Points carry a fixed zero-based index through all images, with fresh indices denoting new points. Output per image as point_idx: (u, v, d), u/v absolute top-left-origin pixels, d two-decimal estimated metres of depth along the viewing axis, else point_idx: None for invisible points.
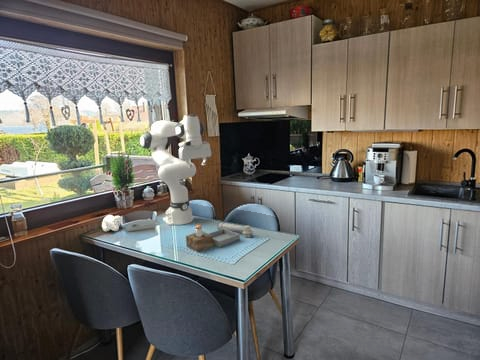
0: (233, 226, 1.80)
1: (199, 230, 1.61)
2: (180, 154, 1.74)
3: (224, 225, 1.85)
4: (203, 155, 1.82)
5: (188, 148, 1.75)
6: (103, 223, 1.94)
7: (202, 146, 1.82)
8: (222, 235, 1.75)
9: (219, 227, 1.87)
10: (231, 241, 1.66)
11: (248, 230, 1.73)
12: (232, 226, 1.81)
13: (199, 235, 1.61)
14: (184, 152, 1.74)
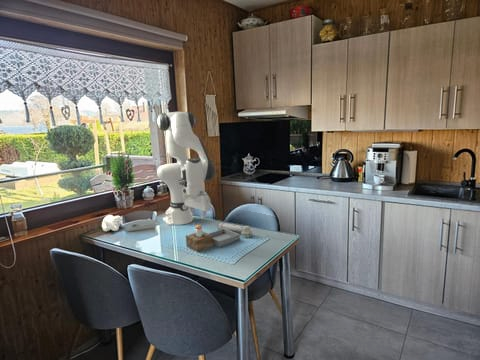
0: (232, 226, 1.80)
1: (199, 230, 1.61)
2: None
3: (224, 225, 1.85)
4: (198, 207, 1.55)
5: (186, 195, 1.61)
6: (103, 223, 1.94)
7: (198, 197, 1.54)
8: (222, 235, 1.75)
9: (219, 227, 1.88)
10: (231, 241, 1.66)
11: (247, 230, 1.73)
12: (232, 226, 1.81)
13: (199, 235, 1.61)
14: (184, 198, 1.64)
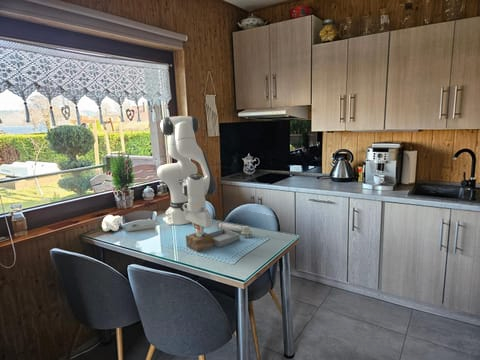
0: (232, 226, 1.80)
1: None
2: None
3: (224, 225, 1.85)
4: (199, 223, 1.57)
5: (187, 210, 1.63)
6: (103, 223, 1.94)
7: (199, 213, 1.56)
8: (222, 235, 1.75)
9: (219, 227, 1.88)
10: (231, 241, 1.66)
11: (247, 230, 1.73)
12: (231, 226, 1.81)
13: (199, 235, 1.61)
14: (185, 213, 1.66)
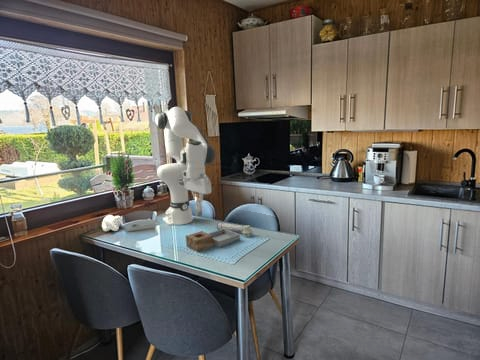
0: (233, 226, 1.81)
1: None
2: None
3: (224, 225, 1.85)
4: (199, 190, 1.54)
5: (187, 178, 1.60)
6: (103, 223, 1.94)
7: (198, 180, 1.53)
8: (222, 235, 1.75)
9: (219, 227, 1.87)
10: (231, 241, 1.66)
11: (248, 230, 1.74)
12: (232, 226, 1.81)
13: (198, 203, 1.58)
14: (185, 181, 1.63)
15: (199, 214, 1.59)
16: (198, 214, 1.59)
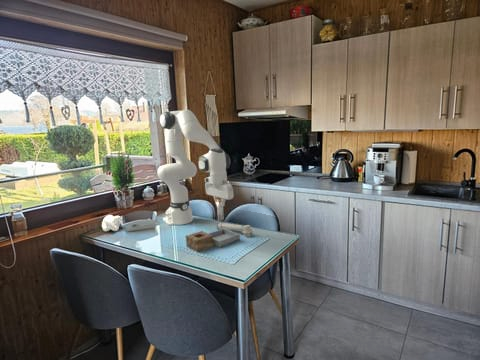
0: (233, 226, 1.81)
1: None
2: None
3: (223, 225, 1.85)
4: (221, 196, 1.62)
5: (209, 184, 1.68)
6: (103, 223, 1.94)
7: (221, 186, 1.61)
8: (222, 235, 1.75)
9: (218, 227, 1.87)
10: (231, 241, 1.66)
11: (248, 229, 1.74)
12: (232, 226, 1.81)
13: (220, 208, 1.66)
14: (206, 187, 1.70)
15: (221, 218, 1.67)
16: (220, 218, 1.67)
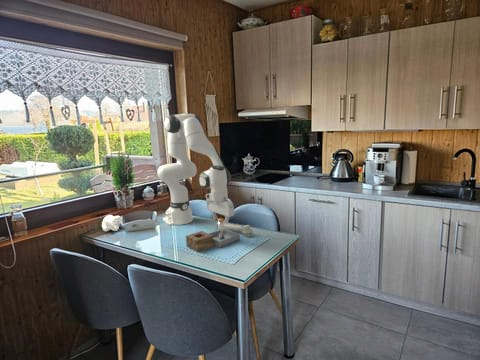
0: (233, 226, 1.81)
1: (221, 223, 1.68)
2: None
3: None
4: (222, 213, 1.63)
5: (210, 200, 1.69)
6: (103, 223, 1.94)
7: (221, 203, 1.62)
8: None
9: None
10: (231, 241, 1.66)
11: (248, 229, 1.74)
12: (232, 226, 1.81)
13: (221, 227, 1.68)
14: (207, 203, 1.72)
15: (222, 238, 1.69)
16: (221, 238, 1.69)
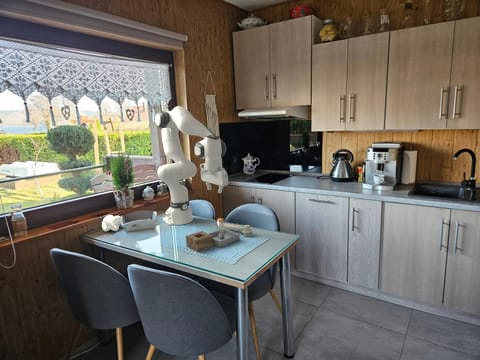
0: (233, 226, 1.81)
1: (221, 223, 1.67)
2: None
3: None
4: (216, 182, 1.64)
5: (204, 171, 1.70)
6: (103, 223, 1.94)
7: (216, 172, 1.63)
8: None
9: None
10: (231, 241, 1.66)
11: (248, 229, 1.74)
12: (231, 226, 1.81)
13: (221, 228, 1.68)
14: (202, 173, 1.73)
15: (222, 238, 1.69)
16: (221, 238, 1.69)
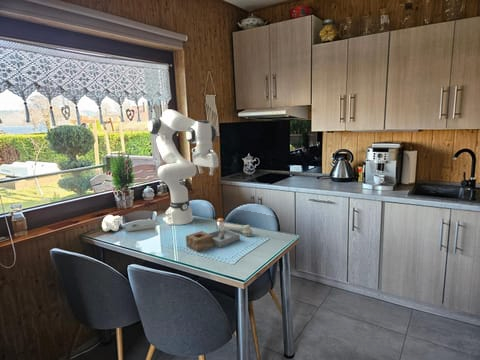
0: (232, 226, 1.81)
1: (221, 223, 1.67)
2: None
3: None
4: (207, 164, 1.70)
5: (196, 155, 1.76)
6: (103, 223, 1.94)
7: (206, 155, 1.69)
8: None
9: None
10: (231, 241, 1.66)
11: (248, 229, 1.74)
12: (231, 226, 1.82)
13: (221, 228, 1.68)
14: (194, 158, 1.79)
15: (222, 238, 1.69)
16: (221, 238, 1.69)
